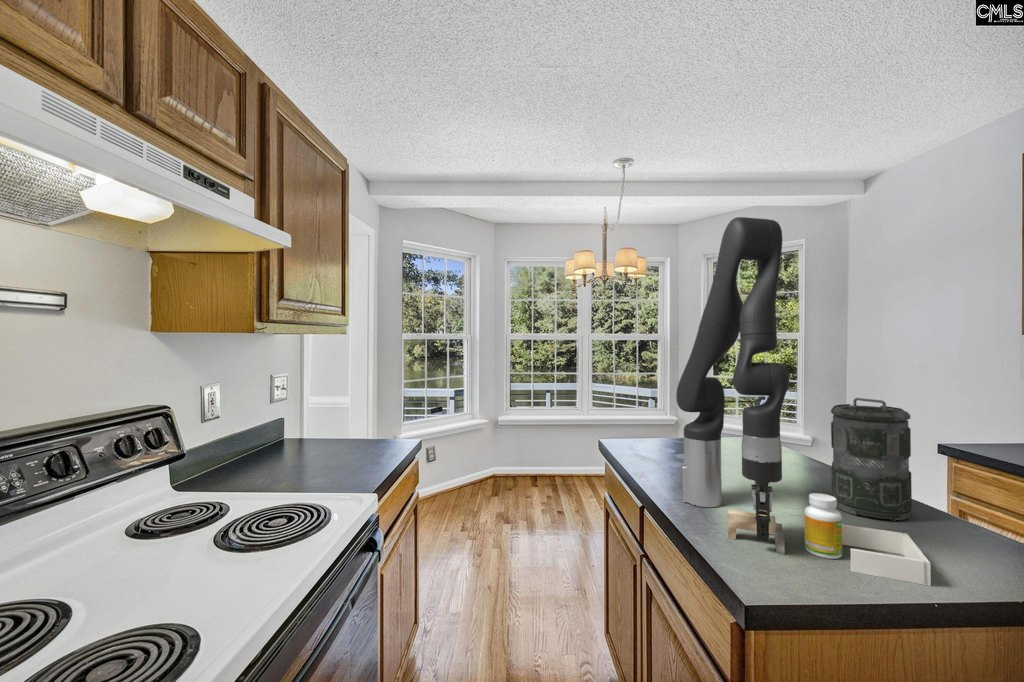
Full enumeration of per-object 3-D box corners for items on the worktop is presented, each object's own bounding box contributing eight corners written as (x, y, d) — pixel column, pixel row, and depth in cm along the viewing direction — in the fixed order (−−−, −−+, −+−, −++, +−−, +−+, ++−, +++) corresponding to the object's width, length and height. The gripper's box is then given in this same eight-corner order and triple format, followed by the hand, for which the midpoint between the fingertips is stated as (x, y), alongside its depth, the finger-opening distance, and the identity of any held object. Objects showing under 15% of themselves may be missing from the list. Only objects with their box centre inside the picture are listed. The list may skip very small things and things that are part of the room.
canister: (817, 504, 119) (816, 397, 119) (856, 496, 125) (855, 394, 125) (886, 526, 105) (884, 404, 105) (926, 516, 111) (925, 400, 111)
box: (851, 571, 85) (851, 549, 85) (839, 542, 97) (838, 523, 97) (930, 585, 80) (930, 563, 80) (907, 553, 92) (906, 533, 92)
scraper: (727, 544, 97) (727, 518, 97) (729, 528, 105) (729, 504, 105) (784, 554, 92) (784, 527, 92) (781, 537, 100) (781, 512, 100)
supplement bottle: (843, 562, 88) (843, 504, 88) (805, 555, 91) (804, 498, 91) (840, 550, 93) (840, 494, 93) (804, 543, 97) (804, 489, 97)
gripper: (742, 447, 106) (743, 517, 106) (741, 461, 93) (742, 541, 93) (779, 450, 102) (780, 523, 102) (784, 466, 89) (785, 548, 89)
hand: (762, 531), depth 97 cm, fingers open, 8 cm apart
